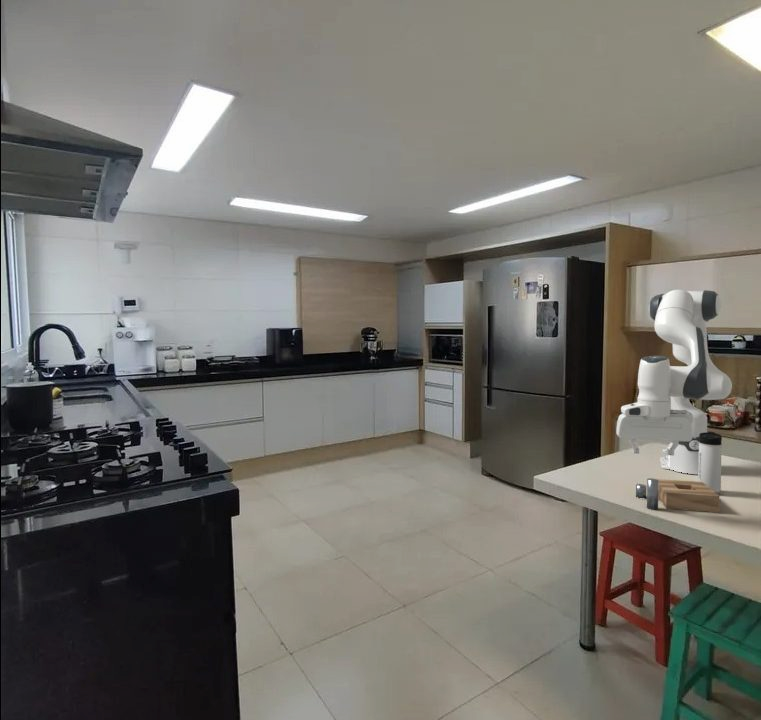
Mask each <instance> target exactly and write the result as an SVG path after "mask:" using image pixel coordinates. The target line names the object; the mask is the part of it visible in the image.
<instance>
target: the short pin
mask: <svg viewBox="0 0 761 720" xmlns="http://www.w3.org/2000/svg"><path fill="white" fill-rule="evenodd" d="M637 497H638V498H637ZM635 498H637V499H640V498H646V499H647V485H646V484H643V483H636V485H635Z"/></svg>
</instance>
